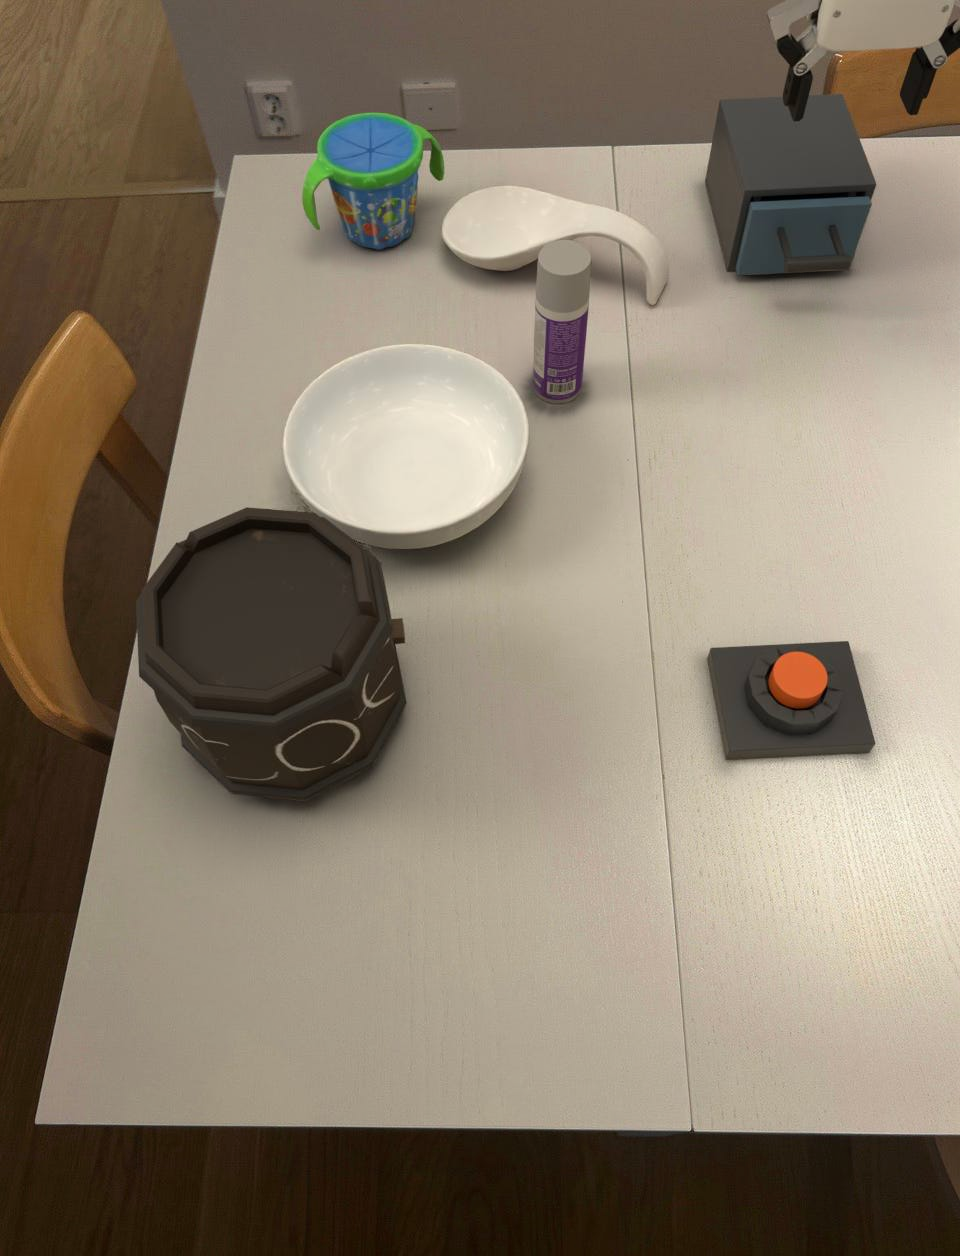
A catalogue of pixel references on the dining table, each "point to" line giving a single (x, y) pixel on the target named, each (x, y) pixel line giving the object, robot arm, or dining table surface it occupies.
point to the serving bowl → (407, 444)
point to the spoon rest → (542, 230)
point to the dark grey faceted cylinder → (273, 652)
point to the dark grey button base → (774, 728)
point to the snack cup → (372, 176)
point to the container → (561, 320)
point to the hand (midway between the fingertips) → (850, 108)
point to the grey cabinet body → (780, 158)
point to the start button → (798, 680)
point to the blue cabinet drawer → (802, 233)
